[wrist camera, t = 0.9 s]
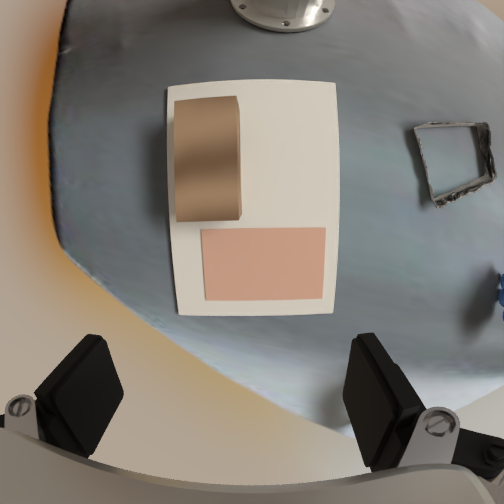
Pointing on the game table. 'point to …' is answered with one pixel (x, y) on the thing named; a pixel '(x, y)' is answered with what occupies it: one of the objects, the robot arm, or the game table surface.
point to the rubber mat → (266, 206)
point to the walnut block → (207, 159)
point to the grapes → (501, 294)
